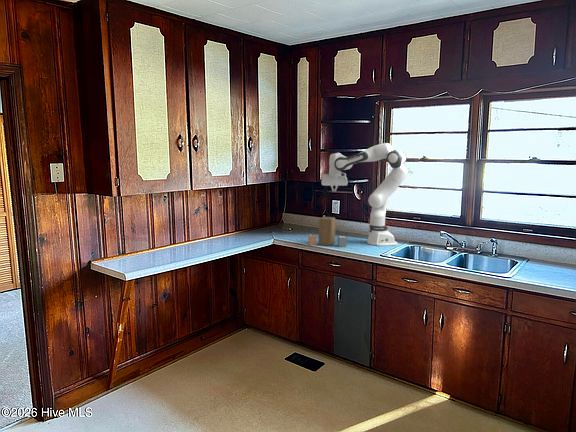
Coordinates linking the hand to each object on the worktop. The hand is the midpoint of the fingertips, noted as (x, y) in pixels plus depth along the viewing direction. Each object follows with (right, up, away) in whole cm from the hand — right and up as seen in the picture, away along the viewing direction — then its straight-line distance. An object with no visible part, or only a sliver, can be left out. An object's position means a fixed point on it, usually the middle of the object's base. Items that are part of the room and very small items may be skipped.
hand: (334, 191), depth 331 cm
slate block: (+3, -42, -22) cm, 47 cm away
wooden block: (-7, -41, -16) cm, 44 cm away
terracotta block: (-18, -41, -18) cm, 48 cm away
